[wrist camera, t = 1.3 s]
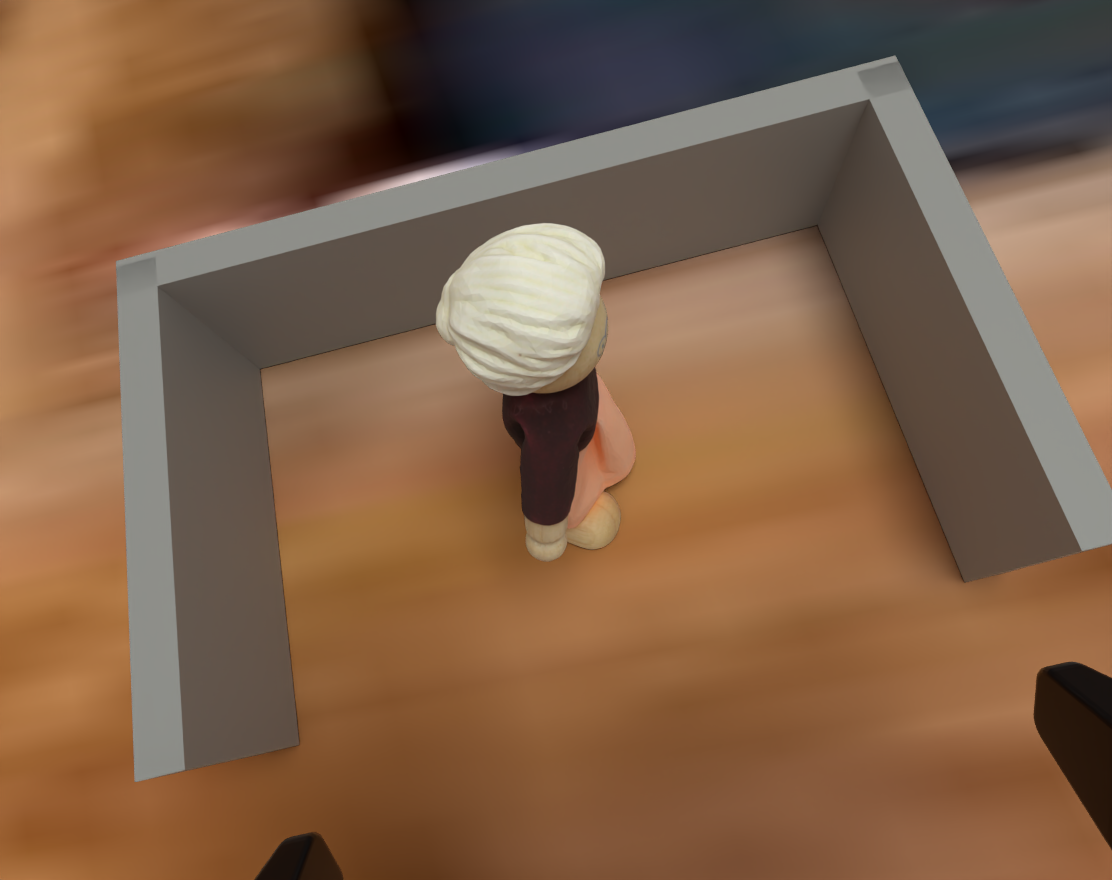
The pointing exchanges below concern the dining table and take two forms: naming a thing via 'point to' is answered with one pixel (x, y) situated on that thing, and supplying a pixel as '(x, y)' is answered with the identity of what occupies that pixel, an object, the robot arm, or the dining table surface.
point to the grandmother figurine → (545, 375)
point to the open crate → (627, 246)
